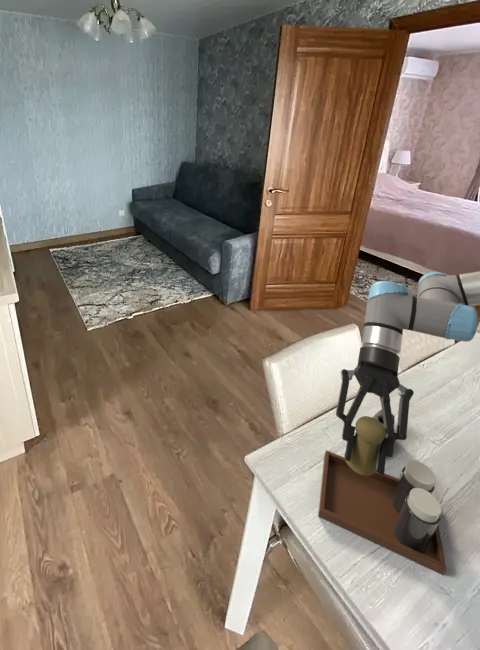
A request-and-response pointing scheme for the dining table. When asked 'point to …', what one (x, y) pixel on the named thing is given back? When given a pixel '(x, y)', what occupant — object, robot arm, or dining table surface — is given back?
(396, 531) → the shaker
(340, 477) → the spice tray
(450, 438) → the dining table surface
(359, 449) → the cork
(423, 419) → the dining table surface
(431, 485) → the shaker
